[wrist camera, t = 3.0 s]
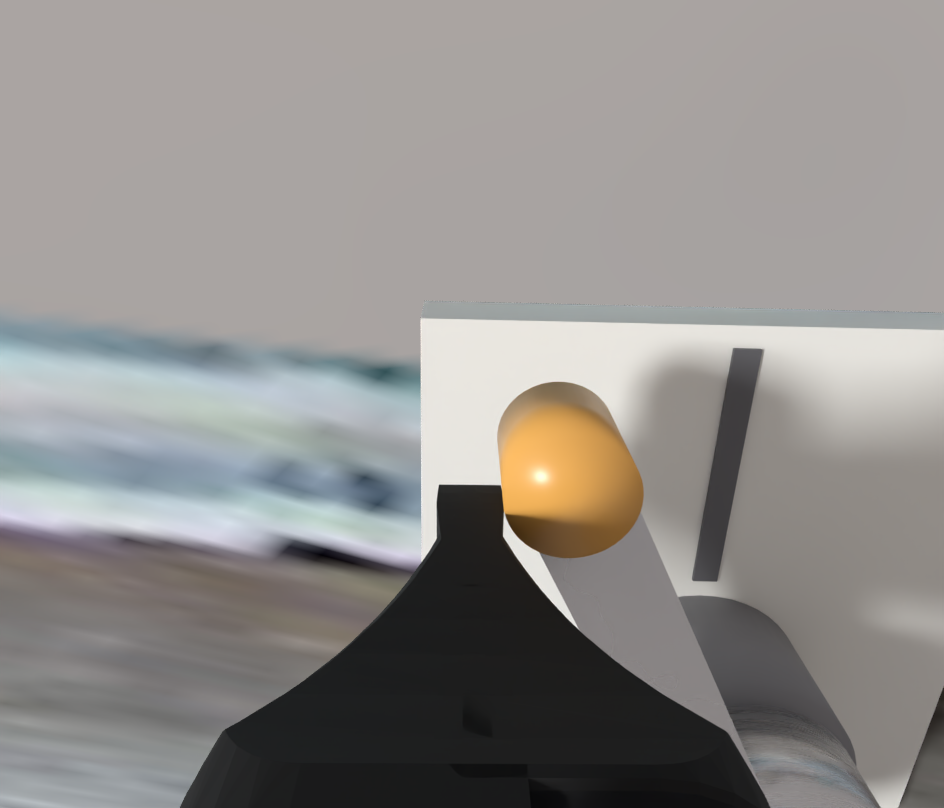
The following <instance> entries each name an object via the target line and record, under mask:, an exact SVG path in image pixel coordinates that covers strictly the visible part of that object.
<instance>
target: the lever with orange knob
mask: <svg viewBox="0 0 944 808" xmlns="http://www.w3.org/2000/svg"><path fill="white" fill-rule="evenodd" d="M497 443H498V454H499V464H500V475H501V486H502V496H503V506H504V513H505V516H506V519H507V522H508V524H509V526H510V528H511V529H512V531H513V532H514V533H515V535H516V536H517V537H518V538H519V539H520V540H521V541H522V542H523V543H524V544H526V545H527V546H529V547H530V548H532V549H534V550H536V551H538V552H539V553H540V555H541V557H542V559H543V561H544V563H545V565H546V567H547V569H548V571H549V572H550V574H551V576H552V578H553V580H554V582H555V584H556V586H557V588H558V590H559V592H560V594H561V596H562V598H563V600H564V601H565V603H566V605H567V607H568V609H569V611H570V613H571V615H572V617H573V619H574V621H575V623H576V625H577V627H578V629H579V630H580V631H581V632H582V633H583V634H584V635H585V636H586V637H587V638H589V639H590V640H591V641H592V642H593V643H595V644H596V645H597V646H598V647H599V648H601V649H602V650H603V651H604V652H605V653H607V654H608V655H609V656H610V657H611V658H613V659H614V660H615V661H616V662H618V663H619V664H620V665H622V666H623V667H624V668H626V669H627V670H628V671H630V672H631V673H633V674H634V675H636V676H637V677H638V678H640V679H641V680H643V681H644V682H646V683H647V684H649V685H650V686H651V687H653V688H654V689H656V690H657V691H659V692H660V693H662V694H663V695H665V696H667V697H668V698H670V699H672V700H673V701H675V702H677V703H679V704H680V705H682V706H684V707H685V708H687V709H689V710H691V711H692V712H694V713H696V714H698V715H699V716H701V717H703V718H704V719H706V720H708V721H710V722H711V723H713V724H715V725H716V726H718V727H720V728H722V729H723V730H725V731H727V732H728V734H729V735H730V737H731V738H732V740H733V742H734V743H735V745H736V747H737V748H738V750H739V752H740V753H741V755H742V757H743V758H744V760H745V762H746V763H747V765H748V767H749V769H750V770H751V772H752V774H753V776H754V777H755V779H756V781H757V783H758V784H759V786H760V788H761V790H762V791H763V793H764V795H765V797H766V799H767V801H768V803H769V806H770V808H881V807H880V806H879V804H878V802H877V801H876V799H875V797H874V796H873V794H872V792H871V791H870V789H869V787H868V786H867V784H866V782H865V781H864V779H863V777H862V776H861V774H860V772H859V771H858V769H857V767H856V766H855V764H854V762H853V761H852V759H851V757H850V756H849V754H848V752H847V751H846V749H845V748H844V746H843V745H842V744H841V742H840V741H839V739H838V738H837V737H835V736H834V735H833V734H832V733H831V732H830V731H829V730H828V729H826V728H825V727H824V726H822V725H821V724H819V723H818V722H816V721H814V720H812V719H810V718H808V717H806V716H804V715H801V714H798V713H795V712H792V711H789V710H785V709H780V708H776V707H768V706H759V705H735V706H725V703H724V701H723V699H722V697H721V694H720V692H719V690H718V687H717V685H716V683H715V681H714V678H713V676H712V674H711V671H710V669H709V667H708V664H707V662H706V660H705V658H704V655H703V653H702V651H701V648H700V646H699V644H698V642H697V639H696V637H695V635H694V632H693V630H692V628H691V626H690V623H689V621H688V619H687V616H686V614H685V612H684V610H683V607H682V605H681V603H680V600H679V598H678V596H677V594H676V591H675V589H674V587H673V584H672V582H671V580H670V577H669V575H668V573H667V571H666V568H665V566H664V564H663V561H662V559H661V557H660V555H659V552H658V550H657V548H656V545H655V543H654V541H653V539H652V536H651V534H650V532H649V529H648V527H647V525H646V523H645V520H644V518H643V516H642V513H641V508H642V505H643V498H644V488H643V482H642V478H641V476H640V473H639V471H638V469H637V466H636V464H635V462H634V460H633V458H632V456H631V454H630V452H629V450H628V448H627V446H626V444H625V442H624V440H623V438H622V436H621V434H620V432H619V430H618V428H617V425H616V423H615V421H614V419H613V417H612V415H611V413H610V411H609V409H608V407H607V406H606V405H605V403H604V402H603V401H602V400H601V399H600V398H599V396H597V395H596V394H595V393H594V392H592V391H590V390H589V389H587V388H585V387H583V386H580V385H577V384H574V383H569V382H548V383H544V384H540V385H537V386H534V387H532V388H530V389H528V390H526V391H524V392H523V393H521V394H520V395H518V396H517V397H516V398H515V399H514V400H513V401H512V402H511V403H510V404H509V405H508V407H507V408H506V410H505V411H504V413H503V415H502V417H501V420H500V423H499V426H498V432H497Z"/></svg>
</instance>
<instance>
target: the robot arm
mask: <svg viewBox="0 0 944 808" xmlns="http://www.w3.org/2000/svg"><path fill="white" fill-rule="evenodd" d="M503 524H504V506H503V496H502V489H501V485H440V484H439V488H438V494H437V539H436V541H435V542H434V544H433V546H432V548H431V549H430V551H429V552H428V554H427V555H426V557H425V558H424V559H423V561H422V562H421V564H420V565H419V567H418V568H417V569H416V571H415V572H414V574H413V575H412V576H411V578H410V579H409V581H408V582H407V583H406V584H405V586H404V587H403V588H402V589H401V591H400V592H399V593H398V594H397V595H396V597H395V598H394V599H393V600H392V601H391V602H390V604H389V605H388V606H387V607H386V608H385V609H384V610H383V611H382V612H381V614H380V615H379V616H378V617H377V618H376V619H375V620H374V621H373V622H372V623H371V624H370V625H369V626H368V627H367V628H366V629H365V630H363V631H362V632H361V633H360V634H359V635H358V636H357V637H356V638H355V639H354V640H353V641H352V642H351V643H350V644H349V645H348V646H347V647H345V648H344V649H343V650H342V651H341V652H340V653H339V654H337V655H336V656H335V657H334V658H332V659H331V660H330V661H329V662H327V663H326V664H325V665H323V666H322V667H321V668H320V669H318V670H317V671H316V672H314V673H313V674H312V675H311V676H309V677H308V678H307V679H305V680H304V681H303V682H301V683H300V684H299V685H297V686H296V687H294V688H293V689H291V690H290V691H288V692H287V693H285V694H284V695H282V696H281V697H279V698H277V699H276V700H274V701H272V702H271V703H269V704H267V705H266V706H264V707H263V708H261V709H259V710H258V711H256V712H254V713H253V714H251V715H249V716H248V717H246V718H244V719H243V720H241V721H240V722H238V723H236V724H234V725H232V726H231V727H229V728H227V729H225V730H224V731H223V732H222V733H221V735H220V737H219V738H218V740H217V742H216V743H215V745H214V747H213V748H212V750H211V752H210V753H209V755H208V757H207V758H206V760H205V762H204V763H203V765H202V767H201V769H200V771H199V773H198V774H197V776H196V778H195V780H194V782H193V783H192V785H191V787H190V789H189V790H188V792H187V794H186V796H185V798H184V800H183V802H182V804H181V806H180V808H770V806H769V803H768V801H767V799H766V797H765V795H764V793H763V791H762V790H761V788H760V786H759V784H758V783H757V781H756V779H755V777H754V776H753V774H752V772H751V770H750V769H749V767H748V765H747V763H746V762H745V760H744V758H743V757H742V755H741V753H740V752H739V750H738V748H737V747H736V745H735V743H734V742H733V740H732V738H731V737H730V735H729V734H728V732H727V731H725V730H723V729H722V728H720V727H718V726H716V725H715V724H713V723H711V722H710V721H708V720H706V719H704V718H703V717H701V716H699V715H698V714H696V713H694V712H692V711H691V710H689V709H687V708H685V707H684V706H682V705H680V704H679V703H677V702H675V701H673V700H672V699H670V698H668V697H667V696H665V695H663V694H662V693H660V692H659V691H657V690H656V689H654V688H653V687H651V686H650V685H649V684H647V683H646V682H644V681H643V680H641V679H640V678H638V677H637V676H636V675H634V674H633V673H631V672H630V671H628V670H627V669H626V668H624V667H623V666H622V665H620V664H619V663H618V662H616V661H615V660H614V659H613V658H611V657H610V656H609V655H608V654H607V653H605V652H604V651H603V650H602V649H601V648H599V647H598V646H597V645H596V644H595V643H593V642H592V641H591V640H590V639H589V638H587V637H586V636H585V635H584V634H583V633H582V632H581V631H580V630H579V629H578V628H577V627H576V626H574V625H573V624H572V623H571V622H570V621H569V620H568V619H567V618H566V617H565V616H564V614H563V613H562V612H561V611H560V610H559V609H558V608H557V607H556V606H555V605H554V604H553V603H552V602H551V601H550V599H549V598H548V597H547V596H546V595H545V594H544V592H543V591H542V590H541V589H540V588H539V586H538V585H537V584H536V583H535V581H534V580H533V579H532V577H531V576H530V575H529V574H528V572H527V571H526V570H525V568H524V567H523V566H522V564H521V563H520V561H519V560H518V559H517V557H516V556H515V554H514V553H513V551H512V550H511V548H510V546H509V545H508V543H507V542H506V540H505V539H504V537H503Z"/></svg>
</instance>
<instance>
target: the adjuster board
mask: <svg viewBox="0 0 944 808" xmlns="http://www.w3.org/2000/svg"><path fill="white" fill-rule="evenodd" d="M548 382H569V383H574V384H577V385H580V386H583V387H585V388H587V389H589V390H590V391H592V392H594V393H595V394H596V395H597V396H599V398H600V399H601V400H602V401H603V402H604V403H605V405H606V406H607V407H608V409H609V411H610V413H611V415H612V417H613V419H614V421H615V423H616V425H617V428H618V430H619V432H620V434H621V436H622V438H623V440H624V442H625V444H626V446H627V448H628V450H629V452H630V454H631V456H632V458H633V460H634V462H635V464H636V466H637V469H638V471H639V473H640V476H641V478H642V482H643V488H644V498H643V505H642V508H641V513H642V516H643V518H644V520H645V523H646V525H647V527H648V529H649V532H650V534H651V536H652V539H653V541H654V543H655V545H656V548H657V550H658V552H659V555H660V557H661V559H662V561H663V564H664V566H665V568H666V571H667V573H668V575H669V577H670V580H671V582H672V584H673V587H674V589H675V591H676V594H677V596H678V598H679V600H680V603H681V605H682V607H683V610H684V612H685V614H686V616H687V619H688V621H689V623H690V626H691V628H692V630H693V632H694V635H695V637H696V639H697V642H698V644H699V646H700V648H701V651H702V653H703V655H704V658H705V660H706V662H707V664H708V667H709V669H710V671H711V674H712V676H713V678H714V681H715V683H716V685H717V687H718V690H719V692H720V694H721V697H722V699H723V701H724V703H725V706H735V705H759V706H768V707H776V708H780V709H785V710H789V711H792V712H795V713H798V714H801V715H804V716H806V717H808V718H810V719H812V720H814V721H816V722H818V723H819V724H821V725H822V726H824V727H825V728H826V729H828V730H829V731H830V732H831V733H832V734H833V735H834V736H835V737H837V738H838V739H839V741H840V742H841V744H842V745H843V746H844V748H845V749H846V751H847V752H848V754H849V756H850V757H851V759H852V761H853V762H854V764H855V766H856V767H857V769H858V771H859V772H860V774H861V776H862V777H863V779H864V781H865V782H866V784H867V786H868V787H869V789H870V791H871V792H872V794H873V796H874V797H875V799H876V801H877V802H878V804H879V806H880V807H881V808H898V807H899V804H900V801H901V799H902V796H903V793H904V791H905V788H906V785H907V783H908V780H909V777H910V775H911V772H912V769H913V767H914V764H915V761H916V759H917V756H918V753H919V751H920V748H921V745H922V743H923V740H924V737H925V735H926V732H927V729H928V727H929V724H930V721H931V719H932V716H933V713H934V711H935V708H936V705H937V703H938V700H939V697H940V695H941V692H942V689H943V687H944V313H933V312H932V313H931V312H930V313H929V312H889V311H845V310H801V309H757V308H755V309H754V308H714V307H669V306H668V307H667V306H626V305H581V304H539V303H538V304H537V303H494V302H451V301H425V302H424V306H423V311H422V315H421V538H422V561H423V559H424V558H425V557H426V555H427V554H428V552H429V551H430V549H431V548H432V546H433V544H434V542H435V541H436V539H437V494H438V488H439V484H440V485H501V475H500V464H499V454H498V443H497V432H498V426H499V423H500V420H501V417H502V415H503V413H504V411H505V410H506V408H507V407H508V405H509V404H510V403H511V402H512V401H513V400H514V399H515V398H516V397H517V396H518V395H520V394H521V393H523V392H524V391H526V390H528V389H530V388H532V387H534V386H537V385H540V384H544V383H548ZM501 489H502V486H501ZM503 537H504V539H505V540H506V542H507V543H508V545H509V546H510V548H511V550H512V551H513V553H514V554H515V556H516V557H517V559H518V560H519V561H520V563H521V564H522V566H523V567H524V568H525V570H526V571H527V572H528V574H529V575H530V576H531V577H532V579H533V580H534V581H535V583H536V584H537V585H538V586H539V588H540V589H541V590H542V591H543V592H544V594H545V595H546V596H547V597H548V598H549V599H550V601H551V602H552V603H553V604H554V605H555V606H556V607H557V608H558V609H559V610H560V611H561V612H562V613H563V614H564V616H565V617H566V618H567V619H568V620H569V621H570V622H571V623H572V624H573V625H574V626H576V627H577V625H576V623H575V621H574V619H573V617H572V615H571V613H570V611H569V609H568V607H567V605H566V603H565V601H564V600H563V598H562V596H561V594H560V592H559V590H558V588H557V586H556V584H555V582H554V580H553V578H552V576H551V574H550V572H549V571H548V569H547V567H546V565H545V563H544V561H543V559H542V557H541V555H540V553H539V552H538V551H536V550H534V549H532V548H530V547H529V546H527V545H526V544H524V543H523V542H522V541H521V540H520V539H519V538H518V537H517V536H516V535H515V533H514V532H513V531H512V529H511V528H510V526H509V524H508V522H507V519H506V516H505V513H504V524H503ZM577 628H578V627H577Z"/></svg>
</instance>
